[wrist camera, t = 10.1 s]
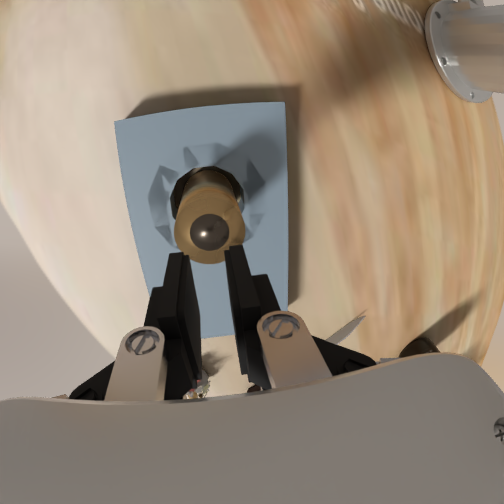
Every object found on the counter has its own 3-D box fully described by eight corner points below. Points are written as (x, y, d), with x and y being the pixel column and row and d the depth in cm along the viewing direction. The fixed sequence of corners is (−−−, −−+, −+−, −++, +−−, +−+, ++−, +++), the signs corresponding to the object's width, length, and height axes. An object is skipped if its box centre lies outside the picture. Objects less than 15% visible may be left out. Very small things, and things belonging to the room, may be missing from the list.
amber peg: (180, 173, 22) (168, 203, 15) (230, 167, 22) (243, 194, 15) (186, 220, 24) (180, 268, 17) (234, 214, 24) (247, 260, 17)
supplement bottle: (414, 333, 36) (456, 391, 26) (436, 337, 38) (475, 387, 28) (387, 366, 39) (422, 424, 28) (411, 367, 41) (444, 418, 30)
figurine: (162, 378, 32) (168, 418, 27) (172, 355, 30) (179, 398, 25) (201, 383, 34) (212, 421, 29) (214, 361, 33) (226, 401, 28)
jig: (123, 120, 19) (114, 121, 17) (276, 103, 20) (284, 101, 18) (166, 325, 28) (164, 341, 26) (281, 311, 30) (287, 326, 27)
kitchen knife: (249, 391, 36) (252, 403, 34) (245, 389, 35) (247, 400, 34) (363, 313, 32) (371, 323, 30) (360, 308, 32) (368, 319, 30)
